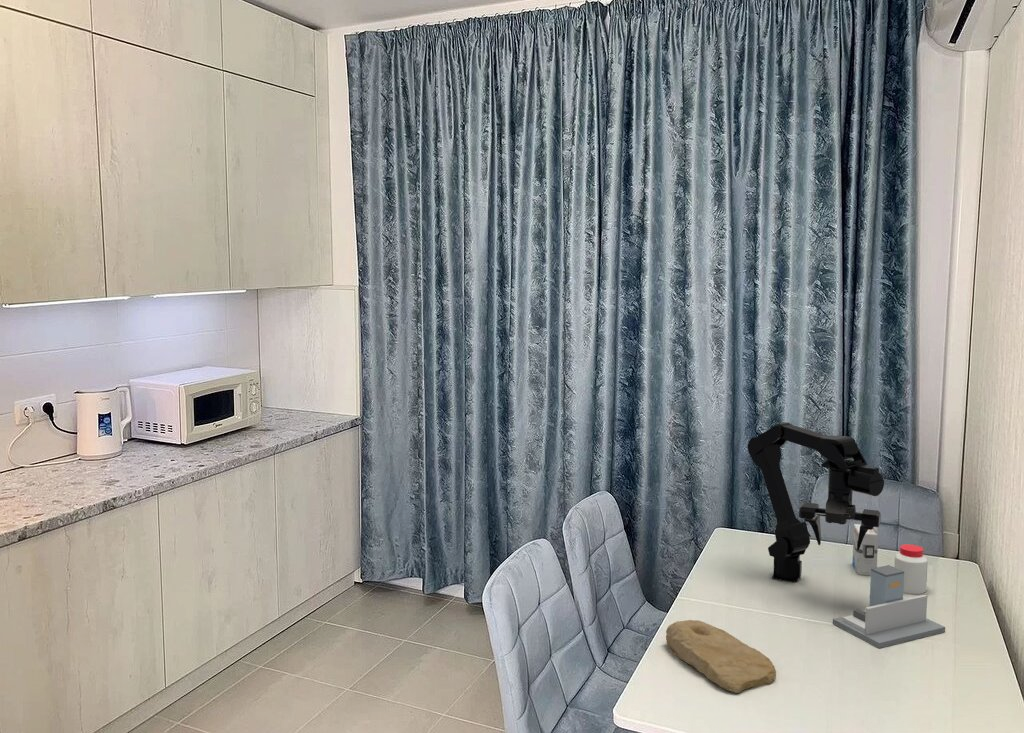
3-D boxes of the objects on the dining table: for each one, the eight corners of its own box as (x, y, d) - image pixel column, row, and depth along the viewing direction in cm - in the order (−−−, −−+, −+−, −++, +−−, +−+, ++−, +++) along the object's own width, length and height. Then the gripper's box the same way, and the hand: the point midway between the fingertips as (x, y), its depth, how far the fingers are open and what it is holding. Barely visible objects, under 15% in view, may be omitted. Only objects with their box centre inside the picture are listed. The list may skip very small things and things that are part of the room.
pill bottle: (894, 592, 218) (895, 550, 217) (892, 581, 225) (894, 541, 224) (927, 596, 215) (929, 554, 214) (925, 585, 222) (927, 544, 221)
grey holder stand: (832, 623, 200) (833, 594, 199) (896, 609, 208) (897, 581, 207) (879, 648, 187) (880, 617, 186) (945, 631, 195) (946, 601, 194)
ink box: (851, 564, 239) (853, 513, 237) (870, 565, 238) (872, 513, 236) (857, 575, 230) (859, 522, 228) (877, 576, 229) (879, 523, 227)
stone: (729, 701, 168) (731, 674, 167) (656, 645, 191) (657, 620, 190) (789, 687, 174) (791, 660, 173) (711, 633, 197) (713, 610, 196)
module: (869, 615, 199) (871, 568, 198) (886, 611, 201) (888, 565, 200) (884, 623, 195) (886, 575, 193) (902, 619, 197) (904, 571, 195)
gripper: (795, 490, 210) (794, 551, 212) (877, 499, 201) (875, 563, 203) (803, 480, 219) (802, 538, 221) (882, 488, 211) (879, 549, 212)
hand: (838, 547), depth 214 cm, fingers open, 9 cm apart
